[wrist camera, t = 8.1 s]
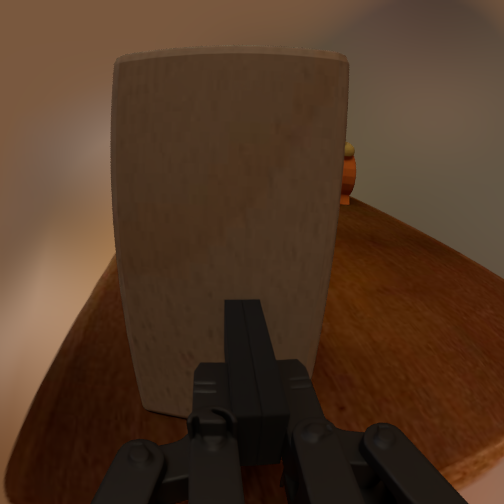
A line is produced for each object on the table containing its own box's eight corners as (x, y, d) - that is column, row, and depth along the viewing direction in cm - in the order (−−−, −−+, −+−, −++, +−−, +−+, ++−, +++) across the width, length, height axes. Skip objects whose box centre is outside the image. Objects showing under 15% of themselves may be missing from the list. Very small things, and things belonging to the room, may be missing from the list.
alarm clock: (353, 206, 83) (360, 132, 76) (331, 204, 82) (338, 129, 76) (338, 196, 95) (344, 132, 88) (319, 195, 95) (324, 129, 88)
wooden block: (141, 412, 18) (110, 54, 11) (181, 330, 27) (179, 83, 20) (300, 433, 17) (351, 50, 10) (297, 341, 26) (322, 87, 20)
